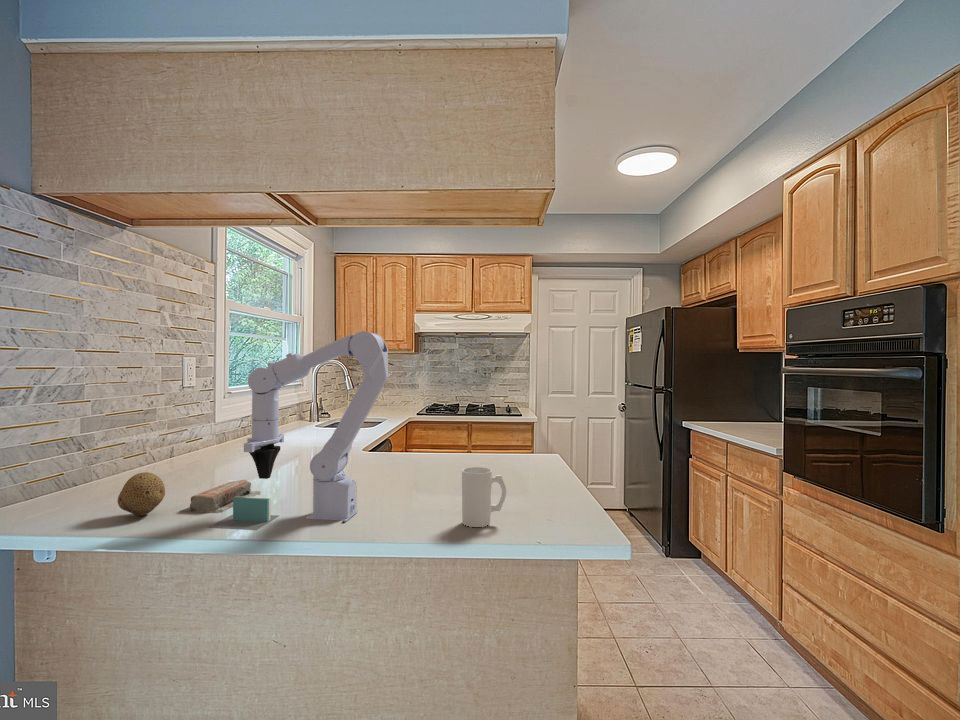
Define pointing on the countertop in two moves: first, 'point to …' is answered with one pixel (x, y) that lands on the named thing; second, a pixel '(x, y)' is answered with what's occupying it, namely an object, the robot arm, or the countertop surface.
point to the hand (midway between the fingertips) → (264, 478)
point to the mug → (479, 496)
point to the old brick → (220, 497)
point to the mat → (240, 523)
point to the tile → (251, 508)
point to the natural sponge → (141, 494)
